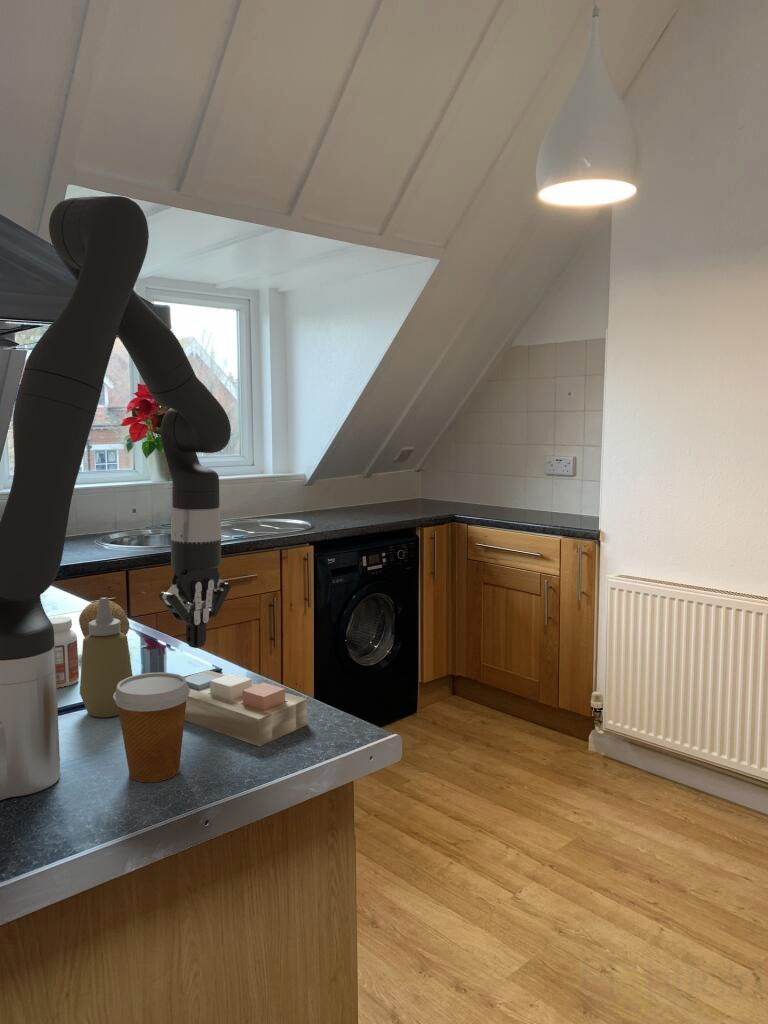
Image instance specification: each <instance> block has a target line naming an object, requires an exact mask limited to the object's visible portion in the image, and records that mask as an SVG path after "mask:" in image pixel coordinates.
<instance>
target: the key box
mask: <svg viewBox="0 0 768 1024" xmlns="http://www.w3.org/2000/svg"><path fill="white" fill-rule="evenodd" d="M201 672H203V673H206V674H210V675H213V676H216V677H222V676H225V675H226V674H222V673H220V672H216V671H212V670H209V669H207V670H204V671H200V672H198V673H201ZM198 673H194V674H192V675H195V674H198ZM192 675H188V676H184V678H186V677H189V676H192ZM256 685H258V684H256V683H253V682H252V687H253V686H256ZM184 721H186V722H189V723H192V724H195V725H196V726H197V725H198V726H200V727H203V728H206V729H208V730H212V731H214V732H217V733H220V734H223V735H225V736H228V737H232V738H235V739H237V740H241V742H242V741H243V742H245V743H248V744H251V745H254V746H257V747H261V746H264V745H266V744H268V743H271V742H273V741H275V740H277V739H279V738H282V737H283V736H285V735H288V734H290V733H292V732H294V731H297V730H299V729H302V728H303V727H306V726H308V698H304V697H302V696H298V695H294V694H291V693H288V692H285V703H284V704H281V705H279V706H276V707H274V708H271V709H269V710H266V711H261V710H258V709H255V708H252V707H248V706H245V705H243V696H242V697H239V698H236V699H234V700H231V701H229V700H226V699H223V698H220V697H217V696H214V695H211V694H210V687H208V688H205V689H202V690H199V691H198V690H195V689H192V688H190V693H189V695H188V698H187V700H186V710H185V719H184Z"/></svg>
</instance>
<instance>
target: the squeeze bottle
mask: <svg viewBox="0 0 768 1024" xmlns="http://www.w3.org/2000/svg"><path fill="white" fill-rule="evenodd" d="M108 600H109V599H108V597H99V600H98V601H99V605H98V611H97V616H96V620H93V621H91V622H89V635H88V636H86V637H84V638H83V639H82V652H81V663H80V665H81V667H80V678H79V679H80V680H79V681H80V683H79V695H80V699H81V700H82V702H83V704H84V707H85V710H86V712H87V714H88V715H89V716H91V717H94V718H112V717H117V716H119V711H118V706H117V705H116V702H115V700H114V699H113V695H114V693H115V692H116V688H117V685H118V683H119V682H120V681H122V680H124V679H126V678H128V677H131V676H134V674H133V668H132V661H131V655H130V654H131V653H130V647H129V639H128V636H127V635H125V634H123V633H122V632H120V631H121V625H120V620H119V619H115V618H113V616H112V612H111V608H110V605H109V601H110V600H109V601H108Z"/></svg>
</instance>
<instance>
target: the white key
mask: <svg viewBox="0 0 768 1024" xmlns="http://www.w3.org/2000/svg"><path fill="white" fill-rule="evenodd" d="M224 675H225V676H222V677H219V678H217V679H214V680H211V681H210V694H211V695H214V696H217V697H220V698H223V699H226V700H229V701H231V700H234V699H236V698H239V697H242V696H243V695H242V690H245V689H248V688H250V687H252V683H253V679H252V678H251V677H250V678H249V677H245V676H244V675H240V674H235V673H229V674H224Z"/></svg>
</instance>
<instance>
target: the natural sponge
mask: <svg viewBox="0 0 768 1024" xmlns="http://www.w3.org/2000/svg"><path fill="white" fill-rule="evenodd" d="M108 601H109V605H110V608H111V612H112V616H113V618H115V619H119V620H120V625H121V631H120V632H122V633H123V634H125V635H126V636H127V634H128V633H129V630H130V621H129V618H128V617H127V615H126V612H125V611H124V609H123V607H121V606H120V605H119V604H118V603H116V602H115V601H111V600H109V599H108ZM98 605H99V600H97V601H94V602H92V603H89V604H88V605H87V606H85V608H84V609H83V610H82V611H81V612H80V614H79V617H78V622H79V623H78V624H79V627H80V630H81V634H82V635H83V637H84V638H85V637H86V636H88V635H89V622H91V621H93V620H96V616H97V611H98Z"/></svg>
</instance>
